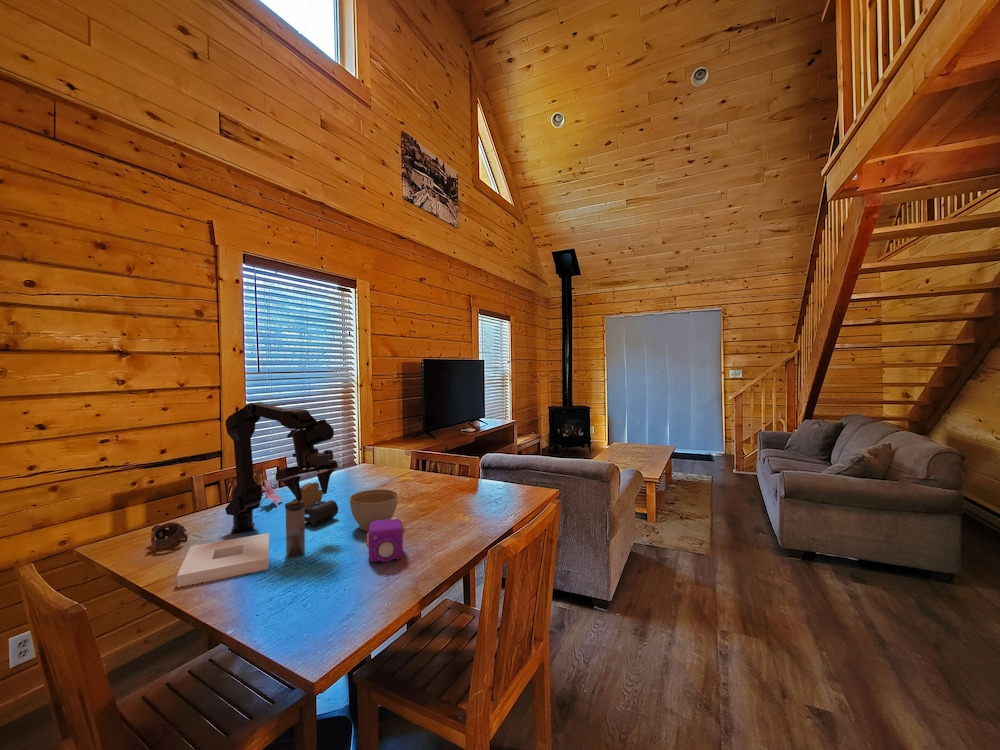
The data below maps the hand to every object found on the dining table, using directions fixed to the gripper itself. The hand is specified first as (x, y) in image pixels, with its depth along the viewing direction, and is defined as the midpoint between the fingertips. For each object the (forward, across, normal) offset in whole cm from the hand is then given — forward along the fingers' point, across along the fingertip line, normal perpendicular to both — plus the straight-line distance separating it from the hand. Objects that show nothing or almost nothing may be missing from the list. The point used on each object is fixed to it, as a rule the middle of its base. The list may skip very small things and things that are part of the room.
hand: (312, 496), depth 129 cm
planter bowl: (+15, +20, -2) cm, 25 cm away
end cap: (+9, +15, +18) cm, 25 cm away
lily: (-2, +18, +50) cm, 53 cm away
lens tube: (+15, -6, +4) cm, 16 cm away
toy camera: (+23, +4, -21) cm, 31 cm away
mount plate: (+12, -18, +15) cm, 27 cm away
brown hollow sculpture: (+3, -20, +43) cm, 48 cm away
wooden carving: (+3, +23, +34) cm, 41 cm away
